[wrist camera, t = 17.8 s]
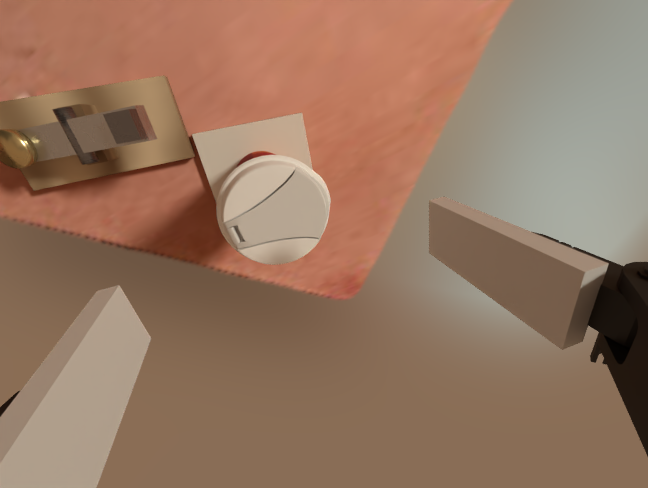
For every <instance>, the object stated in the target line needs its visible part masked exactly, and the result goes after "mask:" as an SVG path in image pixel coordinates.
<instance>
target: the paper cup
mask: <svg viewBox="0 0 648 488" xmlns="http://www.w3.org/2000/svg"><path fill="white" fill-rule="evenodd" d="M330 201H331V199H330V195H329V191H328V189H327V186H326V184H325V182H324V181H323V179H322V177H321V176H319V175H318V174H317V173H316V172H314V171H313V170H312V169H311V168H309V167H308V166H307V165H305V164H304V163H302V162H300V161H299V160H296V159H293V158H291V157H287V156H282V155H276V154H273V153H270V152H267V151H256V152H252V153H250V154H248V155H246V156H245V157H244V158H243V159H242V160H241V161H240V162H239V164H238V165H237V167H236V169H235V170H234V171H233V172H232V173H231V174H230V175H229V176H228V177H227V179H226V180H225V181H224V183H223V185H222V187H221V189H220V191H219V195H218V198H217V206H216V213H217V221H218V225H219V228H220V230H221V232H222V234H223V236H224V237H225V239H226V240H227V242H228V243H229V244H230V245H231V246H232V247H233V248H234V249H235V250H236V251H238V252H239V253H240V254H242V255H244V256H245V257H247V258H249V259H251V260H254V261H256V262H259V263H264V264H272V265H275V264H284V263H289V262H292V261H295V260H297V259H299V258H301V257H303V256H304V255H306V254H307V253H309V252H310V251H311V250H312V249H313V248H314V247H315V246H316V245H317V243H318V242H319V240H320V239H321V236H322V234H323V232H324V230H325V228H326V225H327V222H328V218H329V208H330Z"/></svg>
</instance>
